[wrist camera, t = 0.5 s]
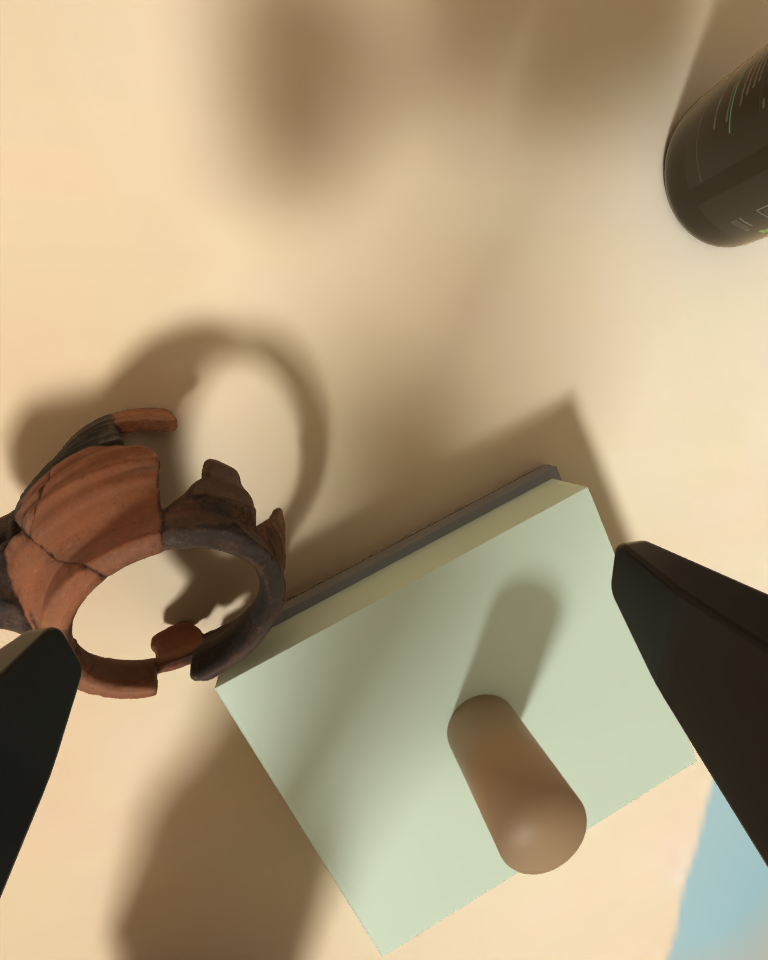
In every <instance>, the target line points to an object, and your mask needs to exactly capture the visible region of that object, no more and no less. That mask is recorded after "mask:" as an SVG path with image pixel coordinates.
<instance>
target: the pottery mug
mask: <svg viewBox="0 0 768 960" xmlns="http://www.w3.org/2000/svg"><path fill="white" fill-rule="evenodd" d="M176 428H177V420H176V418H175V417H174V416H173V415H172V413H171V412H170V411H168V410H166V409H156V408H140V409H131V410H126V411H122V412H117V413H114V414H111V415H106V416H104V417H101V418H99V419H97V420H95V421H93V422H92V423H90V424H88V425H86V426H85V427H83V428H82V429H81V430H79V431H78V432H77V433H76V434H75V435H74V436H73V437H72V438H71V439H70V440H69V441H68V442H67V443H66V444H65V446H64V447H63V448H62V450H61V451H60V452H59V453H58V454H57V455H56V456H55V457H54V459H53V460H52V461H50V462H49V463H48V464H47V465H46V466H45V467H44V468H43V469H42V471H41V472H40V473H39V474H38V475H37V476H36V477H35V478H34V479H33V481H32V482H31V483H30V484H29V485H28V487H27V488H26V489H25V491H24V492H23V493H22V495H21V496H20V500H19V501H18V503H17V505H16V508H15V510H13V511H12V512H11V513H9V514H7V515H5V516H3V517H1V518H0V629H6V630H10V631H14V632H17V633H19V634H23V633H25V632H27V631H30V630H35V629H42V628H49V627H54V628H58V629H59V630H61V631H62V632H63V634H64V636H65V637H66V639H67V640H68V642H69V644H70V645H71V647H72V649H73V650H74V652H75V654H76V655H77V657H78V659H79V660H80V663H81V669H82V673H81V679H80V682H79V686H78V690H80V691H83V692H85V693H88V694H93V695H100V696H103V697H110V698H119V699H128V698H129V699H138V698H145V697H150V696H154V695H156V693H157V687H158V680H157V674H158V673H162V672H168V671H172V670H175V669H178V668H181V667H183V666H186V665H189V664H191V667H190V668H191V669H190V676H191V678H192V679H193V680H194V681H199V680H201V681H207V680H210V679H213V678H215V677H217V676H218V675H220V674H221V673H224V672H225V671H227V670H228V669H230V668H232V667H233V666H234V665H235V664H237V663H238V662H240V661H241V660H242V659H244V658H245V657H246V656H248V655H249V654H250V653H251V652H252V651H253V650H254V649H255V648H256V647H257V646H258V645H259V644H260V643H261V642H262V641H263V639H264V638H265V637H266V635H267V634H268V632H269V631H270V630H271V627H272V624H273V623H274V622H275V621H276V619H277V617H278V615H279V613H280V611H281V610H282V605H283V600H284V595H285V579H284V574H283V572H284V568H285V559H286V555H285V523H284V517H283V511H282V509H280V508H277V509H275V510H274V511H273V512H272V515H271V516H270V518H269V519H267V520H266V521H264V522H263V523H261V524H259V525H258V526H256V509H255V507H254V504H253V500H252V498H251V496H250V495H249V493H248V492H247V491H246V490H245V489H244V488H243V486H242V485H241V481H240V477H239V474H238V472H237V471H236V470H235V469H234V468H232V467H230V466H228V465H226V464H223V463H222V462H220V461H217V460H214V459H208V460H206V461H205V462H204V465H203V469H202V479H200V480H198V481H196V482H195V483H194V484H193V485H192V486H191V487H190V488H189V489H188V490H187V491H186V492H185V494H183V495H182V496H181V497H180V498H179V499H177V500H176V501H174V502H173V503H172V504H171V505H169V506H168V507H167V508H165V509H162V508H161V504H160V491H159V474H158V473H159V468H160V460H159V457H158V456H157V455H155V454H154V452H153V451H152V450H151V449H149V448H147V447H146V446H143V445H131V446H124V442H123V439H122V438H121V437H120V434H124V433H135V432H148V431H152V432H157V431H160V432H173V431H175V430H176ZM186 548H209V549H216V550H220V551H224V552H227V553H230V554H234V555H236V556H238V557H240V558H242V559H244V560H245V561H247V562H248V563H250V564H251V565H253V567H254V568H255V569H256V571H257V573H258V575H259V579H260V588H259V593H258V595H257V597H256V599H255V601H254V603H253V604H252V605H251V606H250V607H249V608H248V610H247V611H246V612H245V613H244V614H242V615H241V616H240V617H238V618H237V619H236V620H234V621H232V622H230V623H228V624H226V625H224V626H221V627H219V628H217V629H215V630H212V631H209V632H207V633H205V634H203V633H202V632H201V630H200V629H199V628H197V627H196V626H195V625H193V624H192V623H191V622H189V621H185V622H180V623H178V624H175V625H173V626H170V627H168V628H167V629H165V630H163V631H161V632H159V633H158V634H156V635H155V636H153V638H152V640H151V648H152V650H153V651H154V652H155V654H156V658H151V659H145V660H118V659H112V658H104V657H100V656H97V655H93V654H91V653H89V652H87V651H85V650H84V649H83V648H82V647H80V646H79V644H78V643H77V640H76V639H74V638H73V635H72V624H73V619H74V617H75V614H76V612H77V610H78V608H79V607H80V605H81V604H82V602H83V601H84V600H85V598H86V597H87V596H88V595H89V594H90V593H91V592H92V590H93V589H94V588H96V587H97V586H98V585H99V584H100V583H101V582H102V581H104V580H105V579H106V577H108V576H110V575H112V574H114V573H115V572H117V571H119V570H120V569H122V568H124V567H125V566H128V565H130V564H132V563H134V562H137V561H139V560H142V559H144V558H147V557H150V556H152V555H156V554H159V553H161V552H163V551H165V550H168V549H186Z"/></svg>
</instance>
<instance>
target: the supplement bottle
mask: <svg viewBox="0 0 768 960" xmlns="http://www.w3.org/2000/svg"><path fill="white" fill-rule="evenodd" d="M664 178H665V188H666V193H667V197H668V201H669V204H670V206H671V209H672V211H673V213H674V215H675V216H676V218H677V220H678V221H679V222H680V224H681V225H682V226H683V227H684V228H685V229H686V231H688V232H689V233H690V234H691V235H692V236H694V237H695V238H697V239H698V240H700V241H702V242H704V243H707V244H710V245H714V246H718V247H736V246H741V245H745V244H748V243H751V242H754V241H757V240H759V239H762V238H765V237H768V44H767V45H766V46H765V47H764V48H762V49H761V50H760V51H759V52H757V53H756V54H755V55H754V56H752V57H751V58H750V59H749V60H747V61H746V62H745V63H743V64H742V65H741V66H740V67H738V68H737V69H736V70H735V71H733V72H732V73H731V74H730V75H728V76H727V77H726V78H725V79H723V80H722V81H721V82H720V83H718V84H717V85H716V86H715V87H714V88H712V89H711V90H710V91H709V92H708V93H706V94H705V95H704V96H703V97H701V98H700V99H699V100H698V101H697V102H696V103H695V104H694V105H693V106H692V107H691V108H690V109H689V110H688V111H687V112H686V113H685V115H684V116H683V117H682V119H681V120H680V122H679V123H678V125H677V127H676V129H675V131H674V133H673V135H672V138H671V140H670V143H669V146H668V150H667V154H666V159H665V170H664Z"/></svg>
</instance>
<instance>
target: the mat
mask: <svg viewBox="0 0 768 960" xmlns="http://www.w3.org/2000/svg"><path fill="white" fill-rule="evenodd" d="M550 479H556V480H561V478H560V475H559V473H558V470H557V468H556V467H555V466H550V465H543V466H541V467H540V468H538V469H536V470H534V471H532V472H530V473H528V474H526V475H524V476H523V477H521V478H519V479H517V480H515V481H513V482H511V483H509V484H507V485H506V486H504V487H502V488H500V489H498V490H496V491H494V492H492V493H490V494H489V495H487V496H485V497H483V498H481V499H479V500H477V501H475V502H473V503H472V504H470V505H468V506H466V507H464V508H462V509H460V510H458V511H456V512H455V513H453V514H451V515H449V516H447V517H445V518H443V519H441V520H439V521H438V522H436V523H434V524H432V525H430V526H428V527H426V528H424V529H422V530H420V531H419V532H417V533H415V534H413V535H411V536H409V537H407V538H405V539H403V540H402V541H400V542H398V543H396V544H394V545H392V546H390V547H388V548H386V549H385V550H383V551H381V552H379V553H377V554H375V555H373V556H371V557H369V558H368V559H366V560H364V561H362V562H360V563H358V564H356V565H354V566H352V567H351V568H349V569H347V570H345V571H343V572H341V573H339V574H337V575H335V576H334V577H332V578H330V579H328V580H326V581H324V582H322V583H320V584H318V585H317V586H315V587H313V588H311V589H309V590H307V591H305V592H303V593H301V594H300V595H298V596H296V597H294V598H292V599H290V600H288V601H286V602H284V603H283V605H282V610H281V611H280V613H279V615H278V617H277V619H276V621H275V622H274V623H273V624H272V627H274V626H276V625H278V624H280V623H282V622H284V621H285V620H287V619H289V618H291V617H293V616H295V615H297V614H299V613H300V612H302V611H304V610H306V609H308V608H310V607H312V606H314V605H315V604H317V603H319V602H321V601H323V600H325V599H327V598H329V597H330V596H332V595H334V594H336V593H338V592H340V591H342V590H344V589H345V588H347V587H349V586H351V585H353V584H355V583H357V582H358V581H360V580H362V579H364V578H366V577H368V576H370V575H372V574H373V573H375V572H377V571H379V570H381V569H383V568H385V567H387V566H388V565H390V564H392V563H394V562H396V561H398V560H400V559H402V558H403V557H405V556H407V555H409V554H411V553H413V552H415V551H417V550H418V549H420V548H422V547H424V546H426V545H428V544H430V543H432V542H433V541H435V540H437V539H439V538H441V537H443V536H445V535H447V534H448V533H450V532H452V531H454V530H456V529H458V528H460V527H462V526H463V525H465V524H467V523H469V522H471V521H473V520H475V519H477V518H478V517H480V516H482V515H484V514H486V513H488V512H490V511H492V510H493V509H495V508H497V507H499V506H501V505H503V504H505V503H507V502H508V501H510V500H512V499H514V498H516V497H518V496H520V495H522V494H523V493H525V492H527V491H529V490H531V489H533V488H535V487H537V486H538V485H540V484H542V483H544V482H546V481H548V480H550ZM561 481H562V480H561ZM272 627H271V628H272Z"/></svg>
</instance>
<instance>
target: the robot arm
mask: <svg viewBox="0 0 768 960" xmlns="http://www.w3.org/2000/svg"><path fill="white" fill-rule="evenodd" d="M611 589H612V594H613V597H614V599H615V601H616V604H617V606H618V608H619V610H620V612H621V614H622V616H623V618H624V620H625V622H626V624H627V626H628V629H629V631H630V633H631V635H632V637H633V639H634V641H635V643H636V645H637V647H638V649H639V651H640V654H641V656H642V658H643V660H644V662H645V664H646V666H647V668H648V670H649V672H650V674H651V676H652V678H653V680H654V682H655V684H656V686H657V687H658V689H659V691H660V692H661V694H662V696H663V698H664V699H665V701H666V703H667V704H668V706H669V707H670V709H671V711H672V712H673V714H674V716H675V717H676V719H677V720H678V722H679V724H680V725H681V727H682V729H683V730H684V732H685V733H686V735H687V737H688V738H689V740H690V742H691V743H692V745H693V746H694V748H695V750H696V751H697V753H698V755H699V756H700V758H701V759H702V761H703V763H704V764H705V766H706V768H707V769H708V771H709V772H710V774H711V776H712V777H713V779H714V781H715V782H716V784H717V785H718V787H719V789H720V790H721V792H722V793H723V795H724V797H725V798H726V800H727V802H728V803H729V805H730V807H731V808H732V810H733V811H734V813H735V814H736V816H737V818H738V820H739V821H740V823H741V824H742V826H743V828H744V829H745V831H746V833H747V834H748V836H749V837H750V839H751V841H752V842H753V844H754V845H755V847H756V849H757V850H758V852H759V854H760V855H761V857H762V859H763V860H764V862H765V863H766V865H767V867H768V594H766V593H763V592H761V591H759V590H757V589H754V588H752V587H750V586H747V585H745V584H743V583H741V582H738V581H736V580H734V579H732V578H729V577H727V576H725V575H722V574H720V573H718V572H716V571H713V570H711V569H709V568H707V567H704V566H702V565H700V564H697V563H695V562H693V561H691V560H688V559H686V558H684V557H682V556H679V555H677V554H675V553H672V552H670V551H668V550H666V549H663V548H661V547H659V546H657V545H654V544H652V543H650V542H647V541H635V542H628V543H622V544H620V545H618V546H617V548H616V551H615V556H614V564H613V572H612V580H611ZM81 673H82V669H81V663H80V660H79V659H78V657H77V655H76V654H75V652H74V650H73V649H72V647H71V645H70V644H69V642H68V640H67V639H66V637H65V636H64V634H63V632H62V631H61V630H59V629H58V628H54V627H49V628H42V629H35V630H30V631H27V632H25V633H23V634H22V635H20V636H19V637H17V638H16V639H14V640H13V641H11V642H10V643H8V644H7V645H6V646H4V647H3V648H1V649H0V898H1V895H2V893H3V890H4V888H5V885H6V883H7V881H8V878H9V876H10V873H11V871H12V868H13V866H14V864H15V861H16V859H17V856H18V854H19V851H20V849H21V847H22V844H23V842H24V839H25V837H26V834H27V832H28V830H29V827H30V825H31V822H32V820H33V817H34V815H35V813H36V810H37V808H38V805H39V803H40V800H41V798H42V796H43V793H44V791H45V788H46V785H47V783H48V780H49V778H50V775H51V772H52V769H53V766H54V763H55V760H56V757H57V754H58V751H59V747H60V744H61V741H62V738H63V734H64V731H65V728H66V725H67V721H68V718H69V715H70V712H71V708H72V705H73V702H74V699H75V695H76V692H77V689H78V686H79V682H80V679H81Z"/></svg>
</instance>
